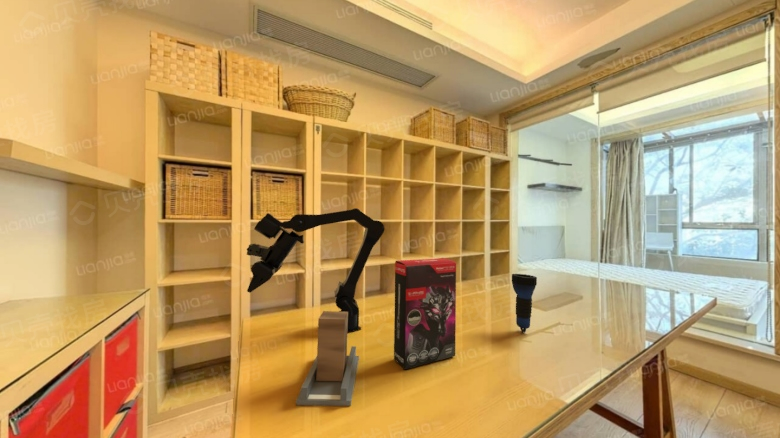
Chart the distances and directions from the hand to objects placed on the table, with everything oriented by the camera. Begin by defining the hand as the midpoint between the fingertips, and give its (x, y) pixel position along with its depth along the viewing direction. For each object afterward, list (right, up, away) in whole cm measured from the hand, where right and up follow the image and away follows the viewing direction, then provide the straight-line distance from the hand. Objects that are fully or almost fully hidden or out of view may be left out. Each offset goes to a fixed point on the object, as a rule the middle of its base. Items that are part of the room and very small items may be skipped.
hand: (252, 287), depth 85 cm
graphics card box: (+53, -17, -11) cm, 57 cm away
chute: (+30, -16, -22) cm, 41 cm away
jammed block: (+30, -14, -23) cm, 41 cm away
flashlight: (+91, -18, +9) cm, 93 cm away
